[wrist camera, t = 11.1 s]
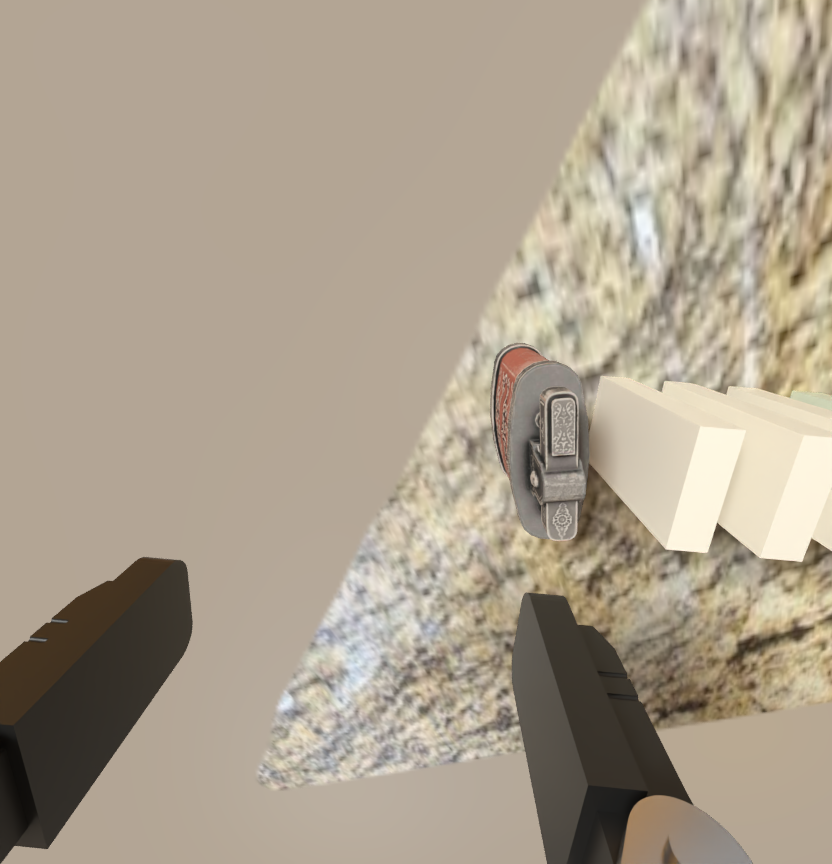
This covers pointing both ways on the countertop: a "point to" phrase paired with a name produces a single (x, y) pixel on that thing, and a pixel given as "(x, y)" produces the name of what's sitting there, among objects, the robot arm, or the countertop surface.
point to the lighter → (541, 439)
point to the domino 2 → (769, 474)
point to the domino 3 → (828, 528)
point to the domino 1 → (663, 460)
